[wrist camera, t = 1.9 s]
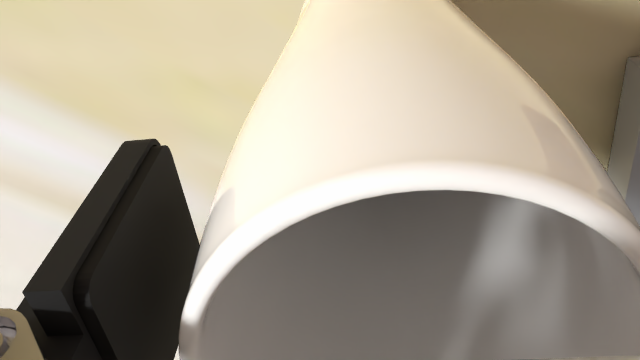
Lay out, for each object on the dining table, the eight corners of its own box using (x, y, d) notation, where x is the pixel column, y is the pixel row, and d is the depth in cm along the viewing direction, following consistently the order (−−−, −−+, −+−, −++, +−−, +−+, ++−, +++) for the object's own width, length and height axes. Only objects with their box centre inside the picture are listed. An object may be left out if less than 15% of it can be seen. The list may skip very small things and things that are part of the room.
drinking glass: (509, 29, 20) (790, 390, 7) (368, 146, 23) (398, 555, 10) (380, -123, 18) (469, 27, 5) (239, 29, 20) (69, 372, 8)
